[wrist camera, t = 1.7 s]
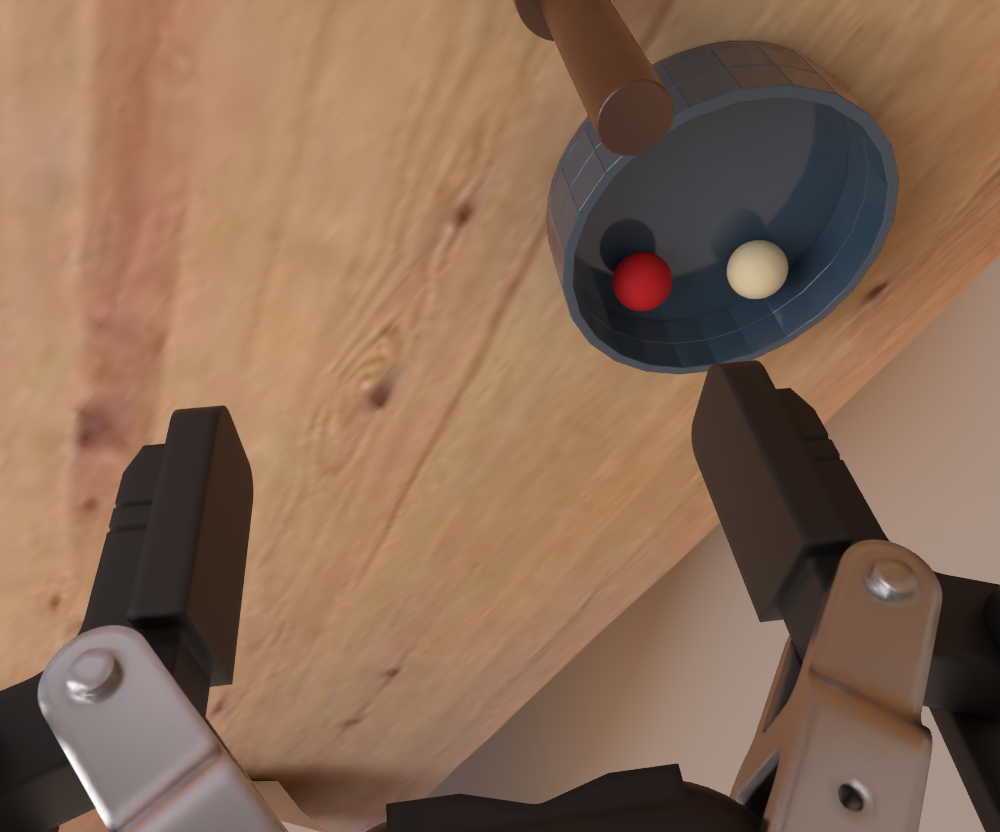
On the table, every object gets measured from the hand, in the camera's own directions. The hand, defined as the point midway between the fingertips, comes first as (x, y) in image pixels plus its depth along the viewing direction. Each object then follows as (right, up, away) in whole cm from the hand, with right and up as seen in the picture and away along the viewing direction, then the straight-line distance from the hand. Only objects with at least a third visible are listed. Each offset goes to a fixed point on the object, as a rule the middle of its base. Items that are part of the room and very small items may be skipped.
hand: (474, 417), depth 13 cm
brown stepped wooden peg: (+2, +18, +15) cm, 24 cm away
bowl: (+10, +11, +25) cm, 29 cm away
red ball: (+8, +7, +25) cm, 27 cm away
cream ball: (+14, +8, +26) cm, 30 cm away
